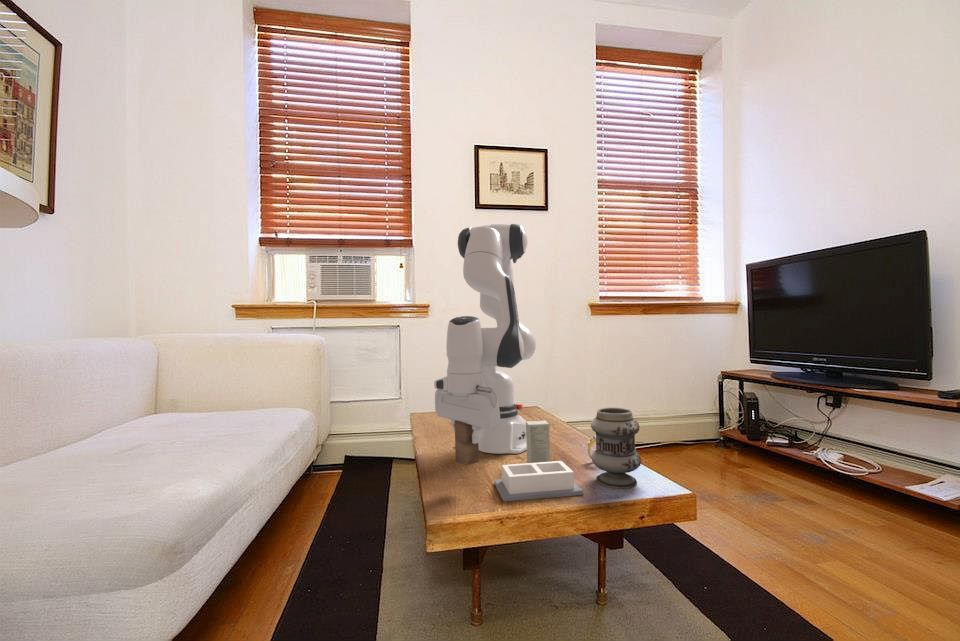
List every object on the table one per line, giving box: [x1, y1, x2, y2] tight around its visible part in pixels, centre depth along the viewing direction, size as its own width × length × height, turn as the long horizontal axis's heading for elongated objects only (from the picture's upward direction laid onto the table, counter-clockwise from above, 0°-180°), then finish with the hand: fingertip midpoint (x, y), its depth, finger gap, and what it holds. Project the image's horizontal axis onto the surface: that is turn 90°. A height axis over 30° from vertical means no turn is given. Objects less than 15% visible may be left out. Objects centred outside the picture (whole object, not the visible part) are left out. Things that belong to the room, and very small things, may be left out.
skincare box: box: [526, 420, 551, 463], centre depth 122 cm, size 6×4×12 cm
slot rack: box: [493, 460, 584, 502], centre depth 104 cm, size 19×11×5 cm, turn 99°
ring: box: [586, 433, 596, 460], centre depth 123 cm, size 7×3×8 cm, turn 93°
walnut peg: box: [454, 421, 480, 467], centre depth 103 cm, size 4×4×10 cm
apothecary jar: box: [590, 407, 642, 489], centre depth 108 cm, size 12×12×18 cm
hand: (466, 440), depth 104 cm, fingers closed on walnut peg, 4 cm apart
